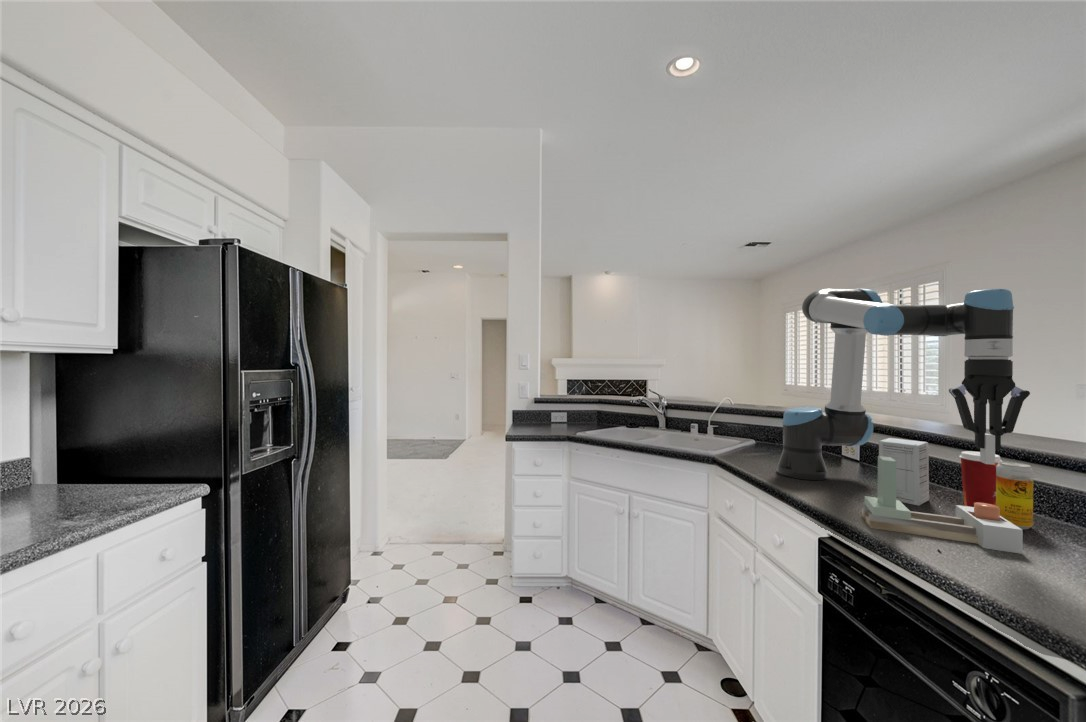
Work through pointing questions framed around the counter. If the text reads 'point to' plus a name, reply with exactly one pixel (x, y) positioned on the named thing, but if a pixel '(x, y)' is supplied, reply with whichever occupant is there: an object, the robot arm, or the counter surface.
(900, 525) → the rail track
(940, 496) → the counter surface
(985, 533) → the white rectangular block
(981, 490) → the coffee cup
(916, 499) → the supplement box
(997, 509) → the button
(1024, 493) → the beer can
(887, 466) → the stand
